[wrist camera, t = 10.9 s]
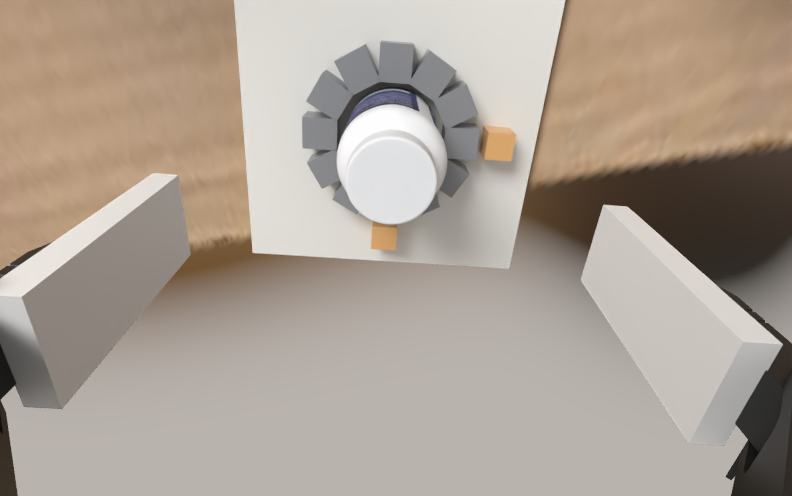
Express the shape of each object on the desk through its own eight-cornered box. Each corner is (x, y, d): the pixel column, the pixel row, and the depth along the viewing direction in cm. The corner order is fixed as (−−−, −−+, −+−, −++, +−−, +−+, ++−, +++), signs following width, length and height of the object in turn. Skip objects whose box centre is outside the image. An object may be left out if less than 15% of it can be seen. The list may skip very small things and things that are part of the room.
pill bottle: (331, 139, 29) (302, 193, 20) (383, 65, 27) (377, 89, 18) (400, 190, 30) (401, 261, 21) (454, 123, 28) (480, 171, 20)
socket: (233, -53, 25) (218, -59, 23) (566, -24, 25) (582, -28, 23) (255, 248, 33) (245, 265, 31) (507, 265, 33) (515, 282, 31)
